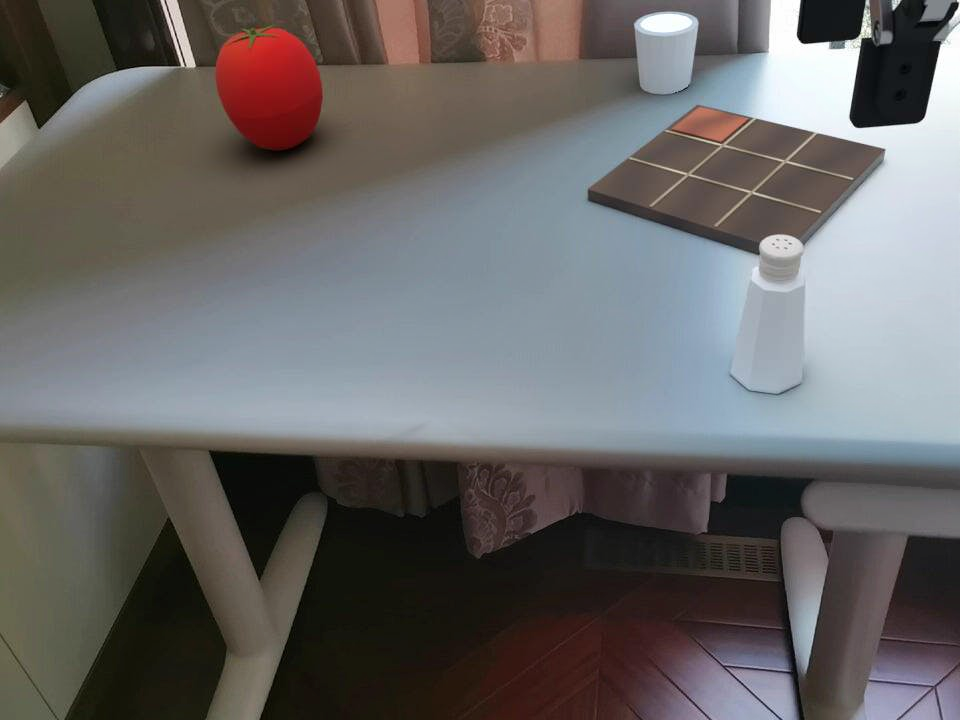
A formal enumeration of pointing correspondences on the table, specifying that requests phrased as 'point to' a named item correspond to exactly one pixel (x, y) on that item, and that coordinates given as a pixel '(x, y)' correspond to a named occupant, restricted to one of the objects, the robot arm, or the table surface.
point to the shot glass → (665, 51)
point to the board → (737, 178)
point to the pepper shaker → (773, 320)
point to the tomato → (269, 87)
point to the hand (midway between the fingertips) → (854, 78)
